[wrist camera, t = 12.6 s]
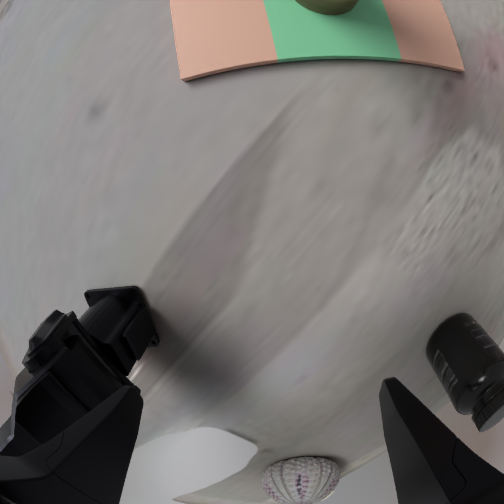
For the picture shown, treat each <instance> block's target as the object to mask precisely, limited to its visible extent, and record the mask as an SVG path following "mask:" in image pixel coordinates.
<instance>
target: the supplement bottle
mask: <svg viewBox="0 0 504 504" xmlns="http://www.w3.org/2000/svg"><path fill="white" fill-rule="evenodd" d="M426 355H427V358H428V360H429V362H430V364H431V366H432V368H433V369H434V371H435V373H436V374H437V376H438V378H439V380H440V381H441V383H442V385H443V387H444V389H445V391H446V392H447V394H448V396H449V398H450V400H451V402H452V404H453V406H454V407H455V409H456V411H457V412H458V413H460V414H463V415H470V414H473V415H472V420H473V422H474V423H475V425H476V427H477V428H478V430H479V432H484V431H486V430H488V429H490V428H491V427H493V426H494V425H496V424H497V423H498V422H499V421H500V420H502V419H503V418H504V353H503V352H502V350H501V349H500V348H499V347H498V345H497V344H496V343H495V342H494V341H493V339H492V338H491V337H490V336H489V335H488V334H487V333H486V331H485V330H484V329H483V328H482V327H481V326H480V325H479V324H478V322H477V321H476V320H475V319H474V318H473V317H472V316H471V315H469V314H466V313H459V314H455V315H453V316H451V317H449V318H448V319H446V320H445V321H444V322H443V323H441V324H440V325H439V327H438V328H437V329H436V330H435V331H434V333H433V334H432V336H431V338H430V339H429V342H428V345H427V349H426Z"/></svg>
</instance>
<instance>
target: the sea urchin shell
mask: <svg viewBox="0 0 504 504" xmlns="http://www.w3.org/2000/svg"><path fill="white" fill-rule="evenodd" d="M340 473H341V472H340V468H339V467H338V465H337V464H336V463H335V462H332V460H328V459H325V458H321V457H320V458H319V457H317V458H313V457H306V456H305V457H300V458H291V459H290V460H287V461H285V460H284V461H281V462H278V463H275V464H273V465H272V466H269V468H268V469H266V471H265V472H263V476H262V480H261V482H262V483H263V484H262V486H263V489H265V492H266V493H267V494H268V495H269V496H270V497H271V498H272V499H274V500H275V501H277V502H279V503H281V504H312V503H315V502H318V501H320V500H322V499H324V498H325V497H326V496H328V495H329V494H330V493H331V492H332V491H333V490H334V488H335V487H336V486H337V483H338V482H339V478H340V476H339V475H340Z"/></svg>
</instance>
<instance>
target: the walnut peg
mask: <svg viewBox="0 0 504 504" xmlns="http://www.w3.org/2000/svg"><path fill="white" fill-rule="evenodd" d="M295 1H296V2H297V3H299V4H300V5H301V6H303V7H305V8H306V9H308V10H311V11H313V12H316V13H320V14H325V15H340V14H344V13H347V12H349V11H350V10H352V9H353V8H354V6H355V5H356V4H357V2H358V1H359V0H295Z"/></svg>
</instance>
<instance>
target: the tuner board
mask: <svg viewBox="0 0 504 504" xmlns="http://www.w3.org/2000/svg"><path fill="white" fill-rule="evenodd" d="M170 6H171V15H172V22H173V30H174V37H175V44H176V51H177V58H178V64H179V71H180V77H181V80H183V81H184V82H185V81H188V80H192V79H196V78H199V77H203V76H207V75H212V74H216V73H220V72H225V71H230V70H235V69H240V68H246V67H251V66H258V65H265V64H272V63H280V62H290V61H301V60H317V59H371V60H386V61H397V62H406V63H414V64H421V65H427V66H433V67H439V68H444V69H449V70H453V71H458V72H461V71H465V70H464V66H463V63H462V59H461V56H460V52H459V49H458V46H457V43H456V40H455V37H454V34H453V31H452V28H451V26H450V23H449V21H448V18H447V16H446V13H445V11H444V8H443V6H442V4H441V2H440V0H359V1H358V2H357V4H356V5H355V6H354V8H353V9H352V10H350V11H349V12H347V13H344V14H340V15H325V14H320V13H316V12H313V11H311V10H308V9H306V8H305V7H303V6H301V5H300V4H299V3H297V2H296V1H295V0H170Z"/></svg>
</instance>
